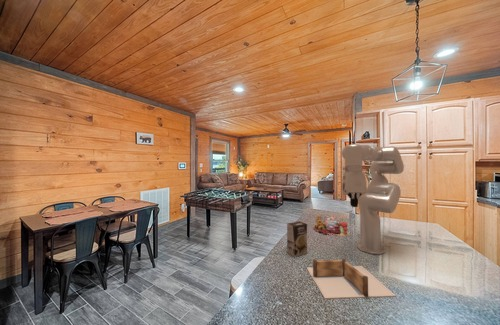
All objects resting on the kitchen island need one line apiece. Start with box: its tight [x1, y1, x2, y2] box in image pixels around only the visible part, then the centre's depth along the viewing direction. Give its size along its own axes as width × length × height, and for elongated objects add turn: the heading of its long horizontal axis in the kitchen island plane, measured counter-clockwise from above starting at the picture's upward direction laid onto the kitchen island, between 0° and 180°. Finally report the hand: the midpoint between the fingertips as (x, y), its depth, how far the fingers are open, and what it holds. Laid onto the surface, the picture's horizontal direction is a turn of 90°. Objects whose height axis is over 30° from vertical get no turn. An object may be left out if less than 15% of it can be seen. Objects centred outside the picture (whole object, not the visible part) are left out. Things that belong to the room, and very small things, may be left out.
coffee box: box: [286, 221, 308, 258], centre depth 103 cm, size 9×6×16 cm
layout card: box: [306, 265, 397, 300], centre depth 78 cm, size 26×20×1 cm
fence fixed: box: [312, 258, 347, 277], centre depth 81 cm, size 14×1×7 cm, turn 92°
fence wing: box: [344, 261, 368, 297], centre depth 74 cm, size 12×1×7 cm, turn 7°
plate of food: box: [313, 215, 351, 237], centre depth 138 cm, size 25×24×9 cm
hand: (354, 206), depth 94 cm, fingers closed
